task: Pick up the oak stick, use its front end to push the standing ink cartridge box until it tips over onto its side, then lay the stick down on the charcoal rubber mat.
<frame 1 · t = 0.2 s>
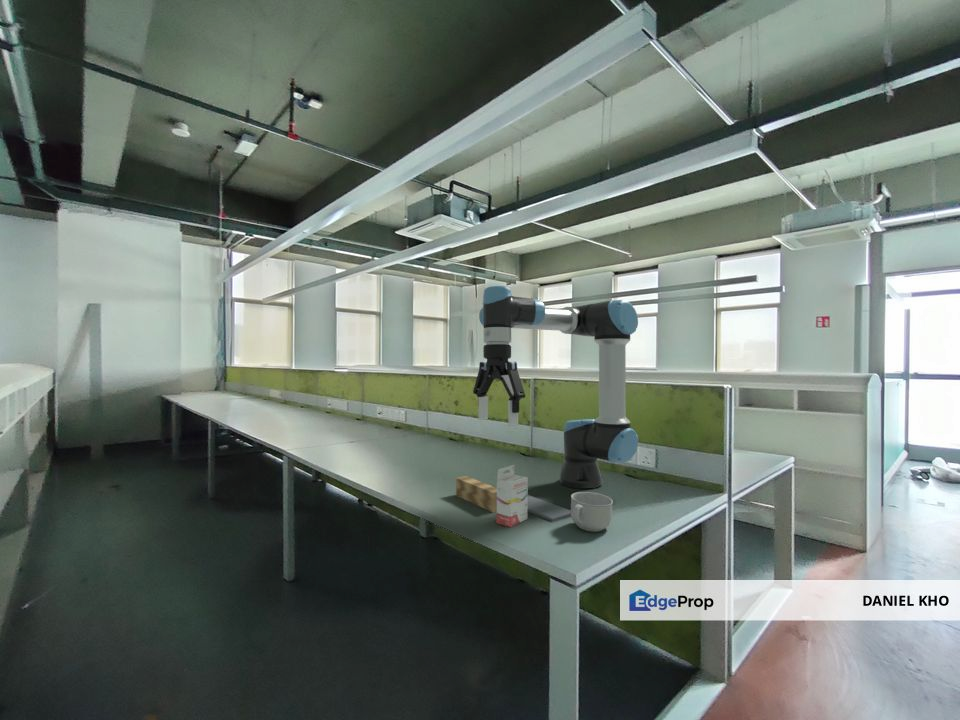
hand: (497, 422, 113), 28 cm above the table, tool pointing down, fingers open, 13 cm apart
oak stick: (478, 503, 132), on the table
tool mat: (536, 507, 127), on the table
teacup: (587, 529, 110), on the table
ink cartridge box: (512, 521, 116), on the table
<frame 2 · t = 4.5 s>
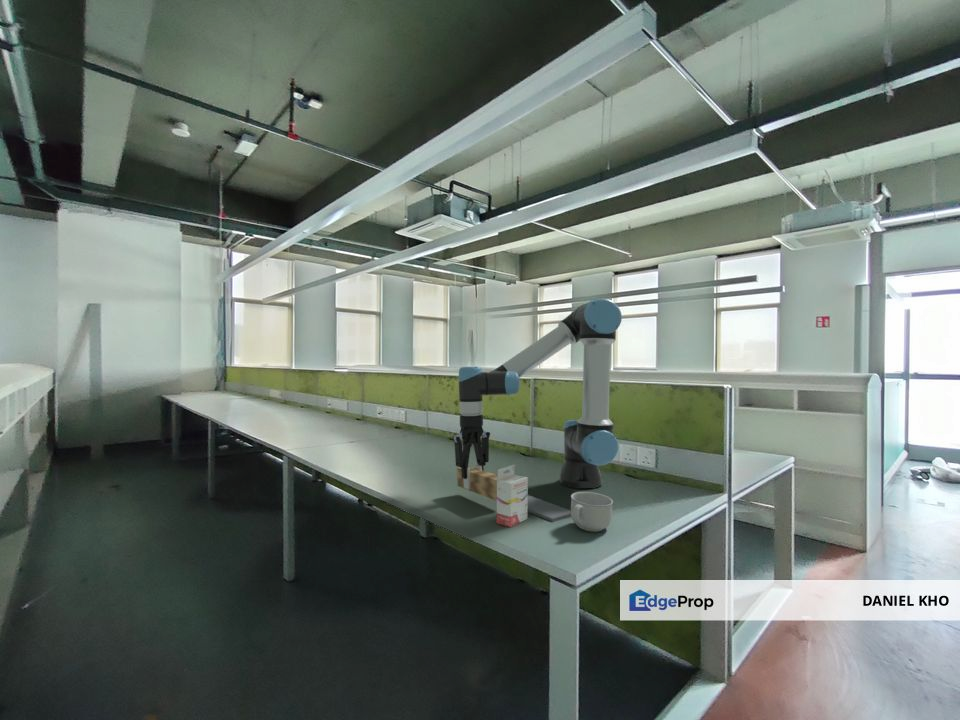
hand: (473, 486, 135), 4 cm above the table, tool pointing down, fingers closed on oak stick, 4 cm apart
oak stick: (480, 491, 132), point 3 cm above the table, touching gripper
everything else where it was.
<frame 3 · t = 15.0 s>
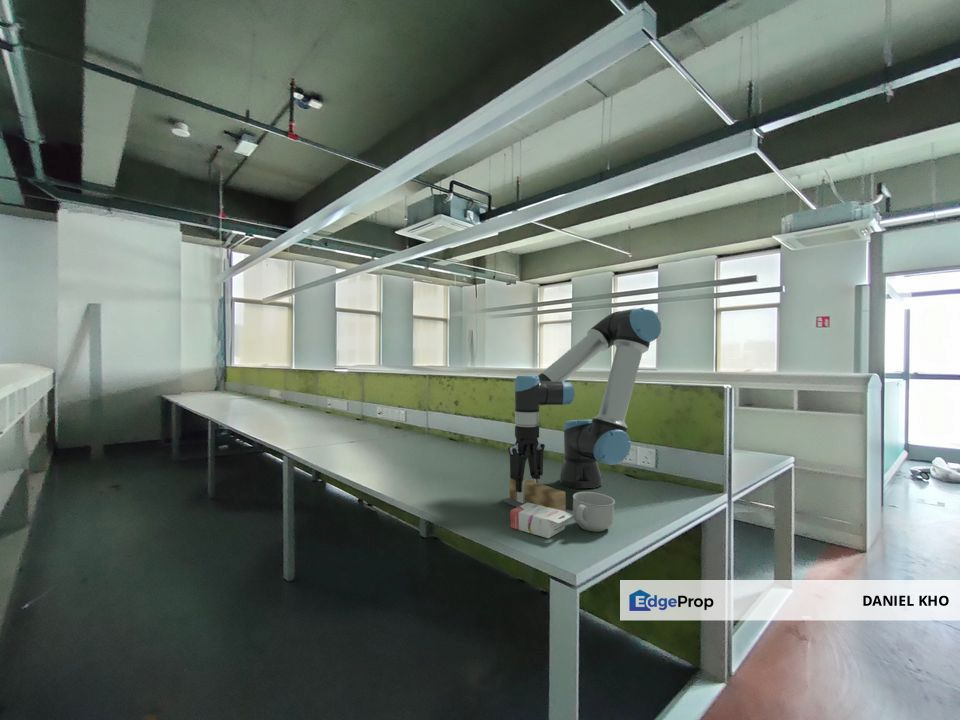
hand: (526, 500, 130), 1 cm above the table, tool pointing down, fingers closed on oak stick, 4 cm apart
oak stick: (536, 505, 126), point 1 cm above the table, touching gripper, tool mat
ink cartridge box: (518, 514, 114), point 2 cm above the table
everything else where it was.
when the fingers open (1 cm above the table, at t = 15.1 s): oak stick stays where it is, resting on tool mat.
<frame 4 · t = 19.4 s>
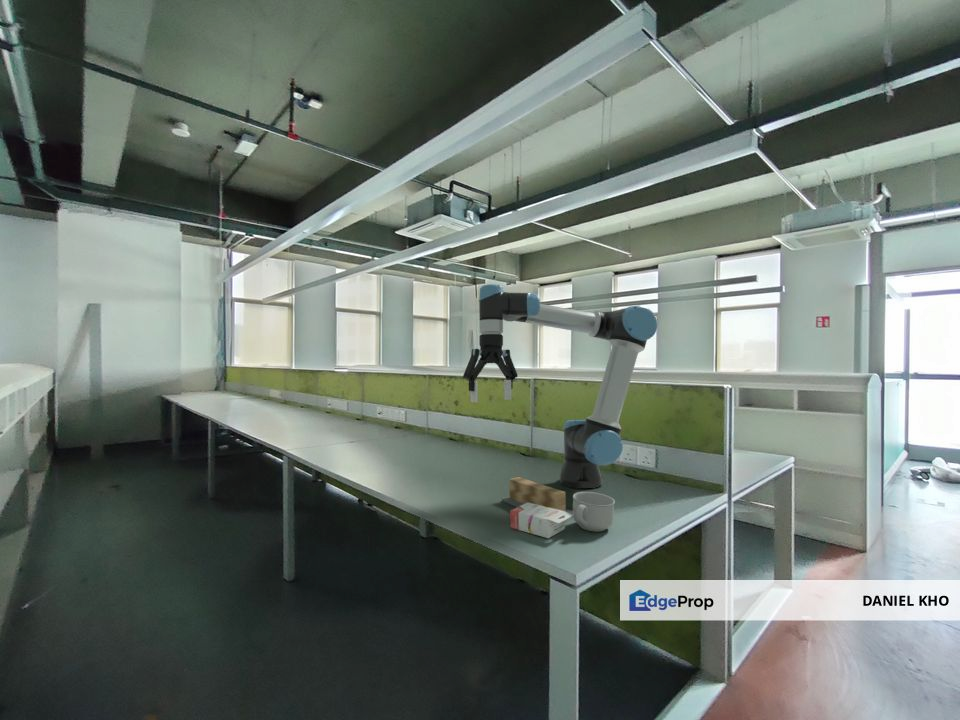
hand: (491, 400, 133), 32 cm above the table, tool pointing down, fingers open, 13 cm apart
oak stick: (536, 505, 126), point 1 cm above the table, touching tool mat
everything else where it was.
at the end: ink cartridge box tilted 89°; oak stick inside the target area on the tool mat (0.3 cm from its centre), point 0.8 cm above the tool mat's base; the gripper is holding nothing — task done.
